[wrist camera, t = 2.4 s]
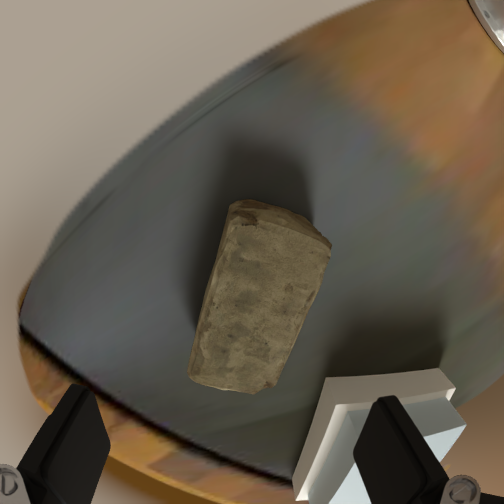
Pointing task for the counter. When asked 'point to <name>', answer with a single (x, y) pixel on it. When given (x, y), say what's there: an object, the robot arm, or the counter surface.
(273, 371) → the stone block
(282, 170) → the counter surface
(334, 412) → the tower base slab
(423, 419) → the tower top slab
